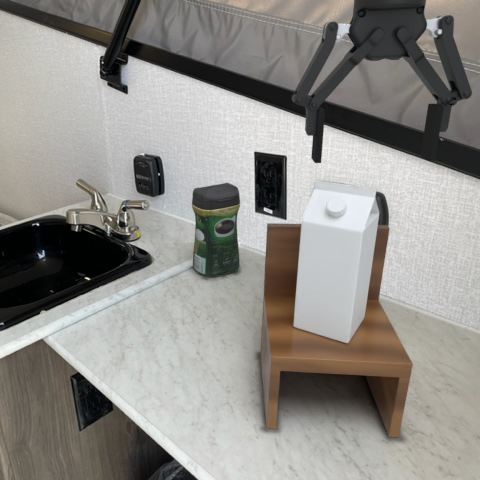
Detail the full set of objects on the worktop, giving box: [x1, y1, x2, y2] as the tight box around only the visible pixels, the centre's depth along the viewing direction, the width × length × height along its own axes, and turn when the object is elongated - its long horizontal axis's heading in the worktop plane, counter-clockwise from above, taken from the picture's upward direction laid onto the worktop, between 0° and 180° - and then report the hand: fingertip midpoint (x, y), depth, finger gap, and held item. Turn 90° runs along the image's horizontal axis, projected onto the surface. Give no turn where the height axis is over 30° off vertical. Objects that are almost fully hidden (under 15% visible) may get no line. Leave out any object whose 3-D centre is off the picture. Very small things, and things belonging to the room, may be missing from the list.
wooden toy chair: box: [259, 222, 414, 438], centre depth 65 cm, size 16×16×22 cm
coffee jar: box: [191, 182, 241, 278], centre depth 103 cm, size 10×8×19 cm
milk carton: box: [293, 179, 380, 343], centre depth 62 cm, size 7×7×19 cm
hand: (371, 159), depth 63 cm, fingers open, 13 cm apart
